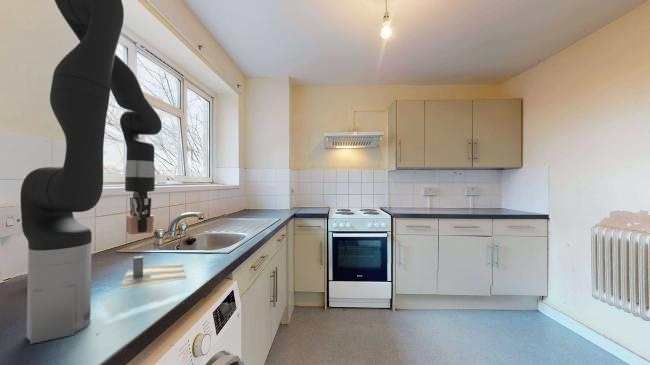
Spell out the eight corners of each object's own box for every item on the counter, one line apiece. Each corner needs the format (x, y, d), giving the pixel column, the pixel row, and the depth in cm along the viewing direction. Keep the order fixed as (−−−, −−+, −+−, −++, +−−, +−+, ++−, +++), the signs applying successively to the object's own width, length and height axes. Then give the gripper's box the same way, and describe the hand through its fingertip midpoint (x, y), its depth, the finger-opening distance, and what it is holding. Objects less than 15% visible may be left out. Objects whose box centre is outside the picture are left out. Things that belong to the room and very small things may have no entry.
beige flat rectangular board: (185, 282, 81) (186, 277, 81) (119, 293, 72) (120, 288, 72) (182, 266, 96) (182, 262, 96) (127, 273, 88) (127, 269, 88)
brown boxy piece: (155, 231, 83) (156, 215, 83) (130, 234, 78) (131, 217, 78) (150, 229, 86) (150, 214, 86) (126, 232, 82) (126, 215, 82)
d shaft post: (142, 280, 81) (142, 257, 82) (133, 282, 80) (133, 258, 80) (143, 278, 84) (143, 255, 84) (133, 279, 82) (134, 256, 82)
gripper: (161, 176, 80) (160, 232, 80) (147, 176, 90) (146, 226, 90) (131, 175, 74) (130, 235, 74) (120, 176, 84) (119, 229, 84)
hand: (139, 230), depth 82 cm, fingers closed on brown boxy piece, 5 cm apart
